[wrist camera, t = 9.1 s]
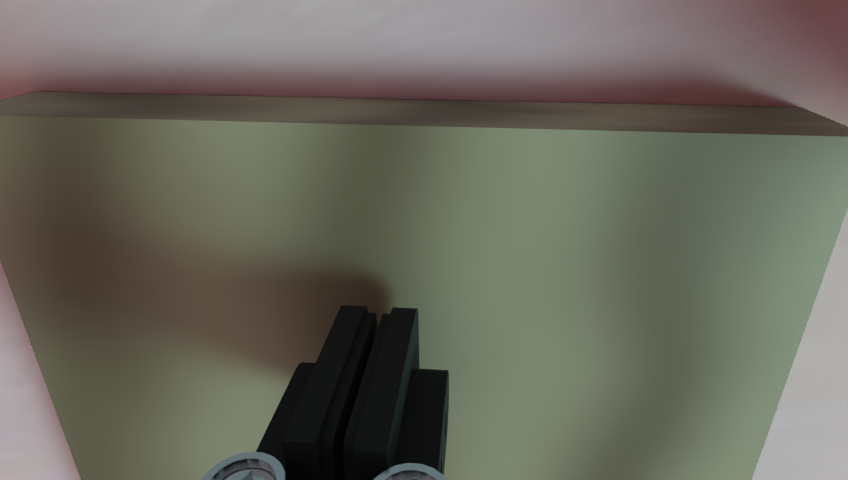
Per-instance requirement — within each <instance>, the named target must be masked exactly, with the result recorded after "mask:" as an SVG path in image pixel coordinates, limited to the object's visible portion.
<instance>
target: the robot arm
mask: <svg viewBox="0 0 848 480" xmlns="http://www.w3.org/2000/svg"><path fill="white" fill-rule="evenodd" d="M448 411H449V371H448V370H435V369H420V366H419V320H418V309H417V308H398V307H393V308H392V310H391V313H390V314H385V313H383V314H382V316H381V320H380V323H379V326H378V327H377V315H376V313H369V312H368V308H367V306H353V305H342V306H341V307H340V309H339V311H338V313H337V316H336V318H335V320H334V322H333V325H332V327H331V329H330V331H329V334H328V336H327V338H326V341H325V343H324V345H323V347H322V350H321V352H320V354H319V356H318V359H317V361H316V363H307V362H301V363H300V364H299V365H298V366H297V368H296V370H295V372H294V374H293V376H292V378H291V380H290V382H289V384H288V386H287V388H286V390H285V392H284V394H283V396H282V398H281V400H280V403H279V405H278V407H277V409H276V411H275V413H274V415H273V417H272V419H271V421H270V423H269V425H268V427H267V429H266V431H265V434H264V436H263V438H262V440H261V442H260V444H259V446H258V448H257V450H256V452H246V453H240V454H236V455H234V456H231V457H229V458H226V459H224V460H223V461H221V462H219V463H218V464H216V465H215V466H213V467H212V468H211V469H210V470H209V471H208V472H207V473H206V475H205V476H204V477H203V478H202V479H201V480H447V479H446V478H445V476H444V467H445V456H446V444H447V431H448Z"/></svg>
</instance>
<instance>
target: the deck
mask: <svg viewBox="0 0 848 480" xmlns="http://www.w3.org/2000/svg"><path fill="white" fill-rule="evenodd" d="M847 208H848V127H847V126H845V125H842V124H840V123H837V122H835V121H833V120H830V119H828V118H825V117H823V116H821V115H818V114H816V113H814V112H811V111H809V110H806V109H804V108H802V107H762V106H713V105H665V104H616V103H568V102H519V101H470V100H422V99H373V98H325V97H276V96H227V95H179V94H130V93H81V92H31V93H27V94H23V95H19V96H15V97H11V98H7V99H4V100H0V260H1V263H2V266H3V269H4V271H5V274H6V277H7V279H8V282H9V285H10V288H11V290H12V293H13V296H14V298H15V301H16V304H17V307H18V309H19V312H20V315H21V317H22V320H23V323H24V325H25V328H26V331H27V334H28V336H29V339H30V342H31V344H32V347H33V350H34V353H35V355H36V358H37V361H38V363H39V366H40V369H41V372H42V374H43V377H44V380H45V382H46V385H47V388H48V390H49V393H50V396H51V399H52V401H53V404H54V407H55V409H56V412H57V415H58V418H59V420H60V423H61V426H62V428H63V431H64V434H65V437H66V439H67V442H68V445H69V447H70V450H71V453H72V456H73V458H74V461H75V464H76V466H77V469H78V472H79V474H80V477H81V480H201V479H202V478H203V477H204V476H205V475H206V473H207V472H208V471H209V470H210V469H211V468H212V467H213V466H215V465H216V464H218V463H219V462H221V461H223V460H224V459H226V458H229V457H231V456H234V455H236V454H240V453H246V452H256V450H257V448H258V446H259V444H260V442H261V440H262V438H263V436H264V434H265V431H266V429H267V427H268V425H269V423H270V421H271V419H272V417H273V415H274V413H275V411H276V409H277V407H278V405H279V403H280V400H281V398H282V396H283V394H284V392H285V390H286V388H287V386H288V384H289V382H290V380H291V378H292V376H293V374H294V372H295V370H296V368H297V366H298V365H299V364H300V363H301V362H307V363H316V361H317V359H318V356H319V354H320V352H321V350H322V347H323V345H324V343H325V341H326V338H327V336H328V334H329V331H330V329H331V327H332V325H333V322H334V320H335V318H336V316H337V313H338V311H339V309H340V307H341V306H342V305H353V306H367V308H368V312H369V313H376V315H377V327H378V326H379V323H380V320H381V316H382V314H383V313H385V314H390V313H391V310H392V308H393V307H398V308H417V309H418V320H419V366H420V369H435V370H448V371H449V411H448V431H447V444H446V456H445V467H444V476H445V478H446V479H447V480H751V479H752V477H753V474H754V471H755V468H756V465H757V462H758V460H759V457H760V454H761V451H762V448H763V445H764V443H765V440H766V437H767V434H768V431H769V428H770V426H771V423H772V420H773V417H774V414H775V412H776V409H777V406H778V403H779V400H780V397H781V395H782V392H783V389H784V386H785V383H786V380H787V378H788V375H789V372H790V369H791V366H792V364H793V361H794V358H795V355H796V352H797V349H798V347H799V344H800V341H801V338H802V335H803V332H804V330H805V327H806V324H807V321H808V318H809V315H810V313H811V310H812V307H813V304H814V301H815V299H816V296H817V293H818V290H819V287H820V284H821V282H822V279H823V276H824V273H825V270H826V267H827V265H828V262H829V259H830V256H831V253H832V251H833V248H834V245H835V242H836V239H837V236H838V234H839V231H840V228H841V225H842V222H843V219H844V217H845V214H846V211H847Z"/></svg>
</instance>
